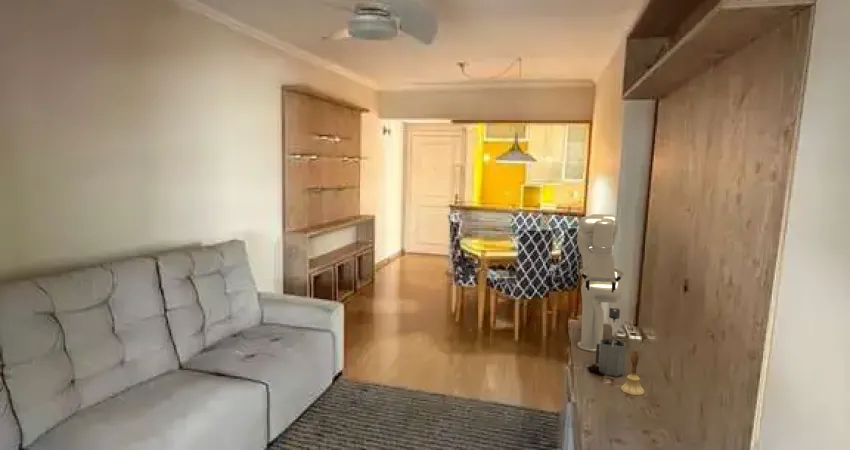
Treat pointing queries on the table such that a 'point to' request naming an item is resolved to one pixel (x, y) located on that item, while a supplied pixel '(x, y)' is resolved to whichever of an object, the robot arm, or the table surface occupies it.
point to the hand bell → (633, 378)
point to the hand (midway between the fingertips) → (600, 290)
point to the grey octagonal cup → (611, 358)
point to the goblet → (613, 314)
